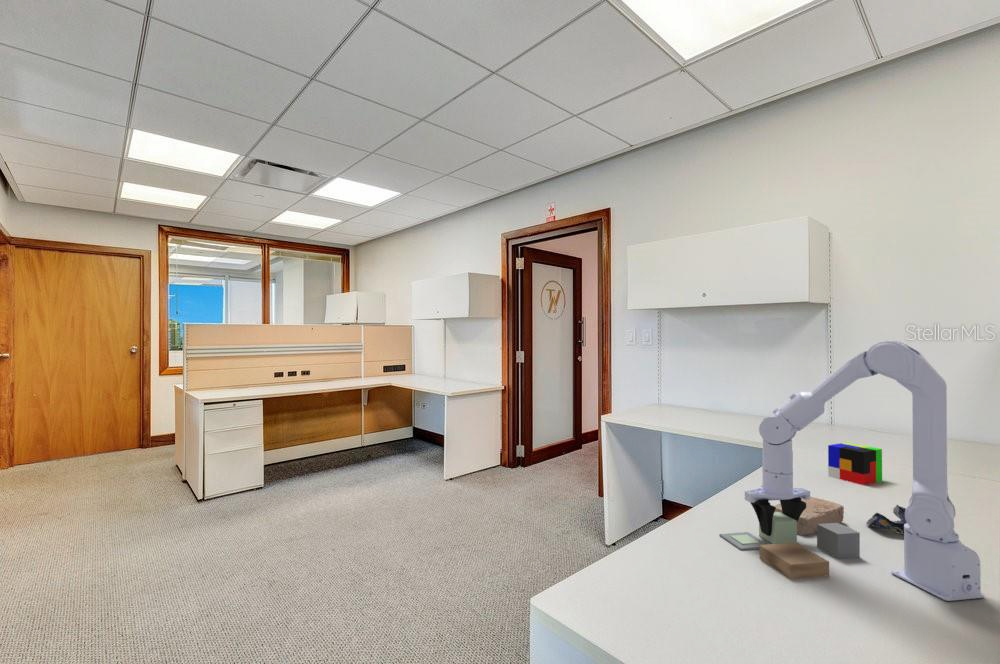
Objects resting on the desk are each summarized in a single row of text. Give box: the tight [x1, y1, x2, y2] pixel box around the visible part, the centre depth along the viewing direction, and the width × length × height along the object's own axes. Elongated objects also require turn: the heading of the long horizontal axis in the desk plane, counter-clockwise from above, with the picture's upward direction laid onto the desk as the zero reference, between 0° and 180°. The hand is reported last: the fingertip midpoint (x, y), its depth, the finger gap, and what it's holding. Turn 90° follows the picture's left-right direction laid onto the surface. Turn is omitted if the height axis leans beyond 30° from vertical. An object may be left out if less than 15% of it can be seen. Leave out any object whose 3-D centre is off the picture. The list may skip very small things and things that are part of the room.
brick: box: [773, 496, 845, 536], centre depth 109 cm, size 17×8×5 cm, turn 117°
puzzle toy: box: [827, 442, 883, 486], centre depth 144 cm, size 10×10×10 cm
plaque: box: [719, 531, 768, 551], centre depth 98 cm, size 7×7×1 cm
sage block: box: [758, 512, 798, 544], centre depth 100 cm, size 5×5×5 cm
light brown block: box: [759, 542, 830, 580], centre depth 88 cm, size 8×8×3 cm
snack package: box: [865, 504, 907, 535], centre depth 104 cm, size 12×7×12 cm
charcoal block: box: [816, 523, 861, 560], centre depth 94 cm, size 5×5×5 cm
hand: (777, 533), depth 100 cm, fingers closed on sage block, 5 cm apart
